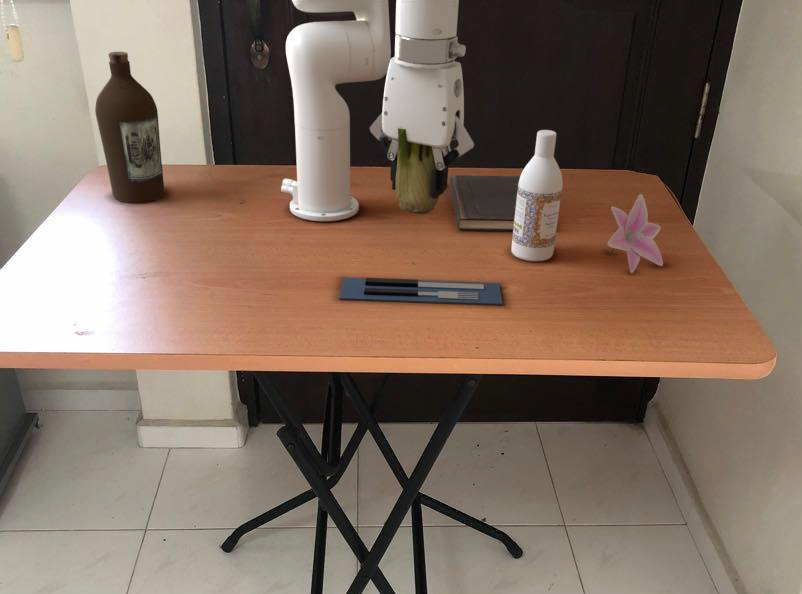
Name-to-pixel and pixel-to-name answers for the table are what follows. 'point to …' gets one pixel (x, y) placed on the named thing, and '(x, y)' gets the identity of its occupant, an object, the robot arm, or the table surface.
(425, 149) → the fennel bulb
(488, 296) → the napkin
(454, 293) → the cutlery
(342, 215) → the robot arm
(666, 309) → the table surface
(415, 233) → the table surface
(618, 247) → the lily
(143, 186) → the olive oil
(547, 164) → the bath foam
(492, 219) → the hardcover book
